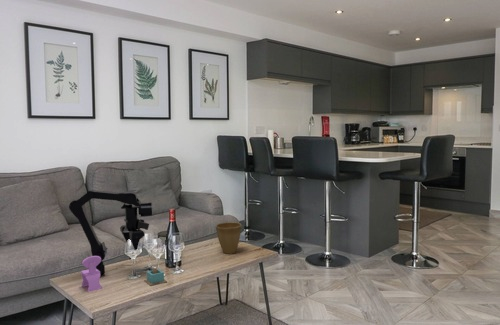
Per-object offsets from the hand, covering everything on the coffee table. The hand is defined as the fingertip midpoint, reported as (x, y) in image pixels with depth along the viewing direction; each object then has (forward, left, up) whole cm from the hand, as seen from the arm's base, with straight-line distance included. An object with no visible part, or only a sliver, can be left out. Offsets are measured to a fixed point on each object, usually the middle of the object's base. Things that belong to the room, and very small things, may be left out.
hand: (132, 247), depth 203 cm
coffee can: (+24, +13, -13) cm, 30 cm away
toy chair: (-22, -8, -13) cm, 27 cm away
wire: (+3, -8, -12) cm, 15 cm away
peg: (+4, -19, -12) cm, 23 cm away
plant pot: (+57, +1, -13) cm, 58 cm away
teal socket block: (+4, -19, -12) cm, 23 cm away
